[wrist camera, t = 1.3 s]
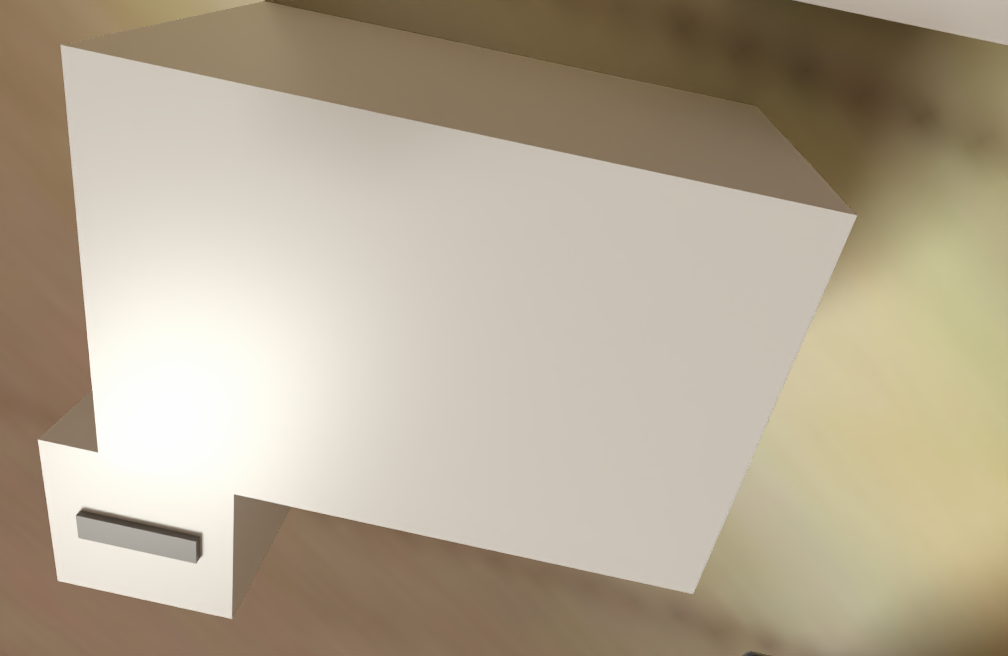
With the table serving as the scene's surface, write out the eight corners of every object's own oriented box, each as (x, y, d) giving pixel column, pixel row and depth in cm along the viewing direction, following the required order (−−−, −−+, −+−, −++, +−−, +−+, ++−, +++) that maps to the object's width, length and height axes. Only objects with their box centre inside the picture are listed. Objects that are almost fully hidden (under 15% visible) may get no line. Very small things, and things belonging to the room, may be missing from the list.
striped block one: (294, 500, 26) (229, 624, 21) (150, 468, 26) (53, 585, 21) (303, 371, 23) (230, 481, 18) (143, 337, 23) (31, 437, 19)
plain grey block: (661, 380, 22) (692, 594, 15) (257, 293, 22) (99, 464, 15) (755, 104, 18) (856, 215, 11) (267, 0, 18) (61, 44, 11)
